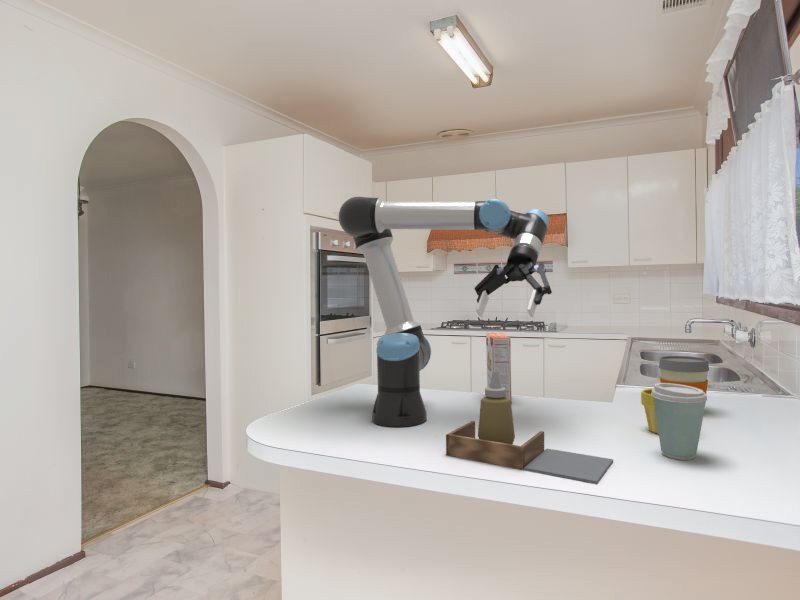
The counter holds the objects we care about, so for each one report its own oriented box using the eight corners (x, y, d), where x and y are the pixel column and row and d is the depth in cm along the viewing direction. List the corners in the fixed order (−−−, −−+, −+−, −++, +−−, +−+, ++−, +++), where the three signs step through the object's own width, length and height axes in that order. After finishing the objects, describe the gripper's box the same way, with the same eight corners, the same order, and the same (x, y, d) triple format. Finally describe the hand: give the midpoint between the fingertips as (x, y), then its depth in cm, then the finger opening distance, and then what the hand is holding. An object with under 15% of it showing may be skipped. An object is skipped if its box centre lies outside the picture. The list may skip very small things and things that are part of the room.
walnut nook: (446, 454, 114) (445, 434, 114) (472, 439, 125) (472, 420, 125) (523, 469, 104) (523, 447, 104) (544, 451, 115) (544, 431, 115)
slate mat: (524, 470, 104) (524, 467, 104) (546, 450, 116) (546, 448, 116) (596, 484, 96) (596, 481, 96) (613, 461, 108) (613, 459, 108)
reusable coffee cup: (688, 419, 139) (688, 363, 139) (648, 409, 151) (648, 357, 150) (719, 413, 144) (719, 360, 144) (678, 404, 156) (678, 354, 155)
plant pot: (683, 427, 132) (683, 389, 132) (692, 439, 122) (692, 397, 122) (639, 424, 135) (639, 387, 135) (643, 435, 126) (643, 395, 125)
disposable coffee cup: (695, 448, 116) (695, 381, 115) (716, 465, 105) (717, 391, 104) (644, 446, 117) (644, 380, 117) (660, 463, 107) (660, 390, 106)
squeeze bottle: (515, 459, 110) (514, 375, 110) (477, 457, 112) (475, 374, 111) (514, 447, 118) (513, 369, 118) (478, 446, 120) (477, 368, 119)
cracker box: (486, 395, 173) (485, 332, 172) (504, 395, 173) (503, 332, 172) (492, 405, 159) (491, 337, 158) (512, 405, 159) (511, 336, 158)
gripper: (573, 261, 136) (557, 323, 124) (486, 266, 150) (464, 322, 138) (567, 240, 132) (549, 302, 120) (477, 247, 146) (453, 303, 134)
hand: (503, 313), depth 129 cm, fingers open, 13 cm apart
